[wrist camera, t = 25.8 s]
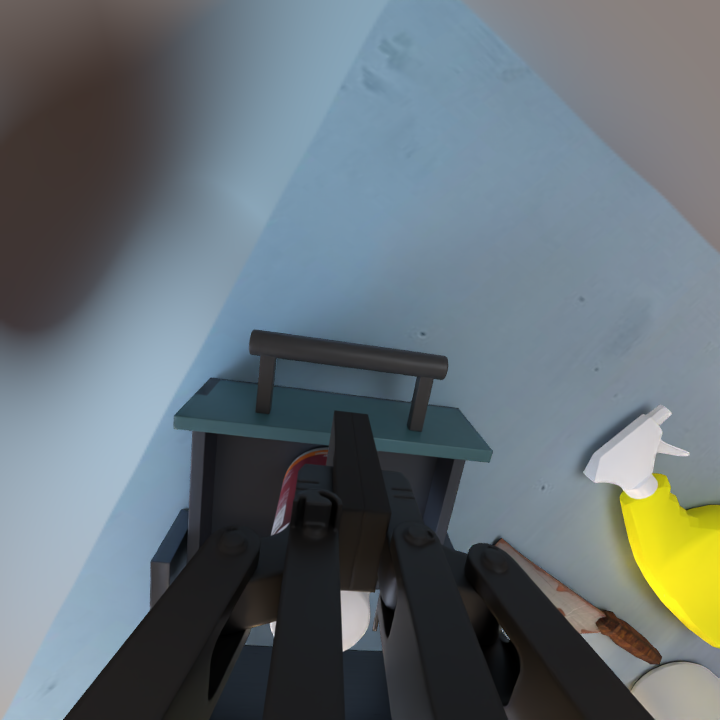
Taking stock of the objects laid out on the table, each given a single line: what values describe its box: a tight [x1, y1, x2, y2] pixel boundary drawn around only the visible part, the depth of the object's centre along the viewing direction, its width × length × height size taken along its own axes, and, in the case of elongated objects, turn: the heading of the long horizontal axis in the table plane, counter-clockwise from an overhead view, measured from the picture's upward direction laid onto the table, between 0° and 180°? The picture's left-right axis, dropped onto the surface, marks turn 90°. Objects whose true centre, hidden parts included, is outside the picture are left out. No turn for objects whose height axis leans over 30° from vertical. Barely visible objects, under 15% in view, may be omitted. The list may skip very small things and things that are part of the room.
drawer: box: [174, 330, 493, 589], centre depth 25 cm, size 18×18×6 cm
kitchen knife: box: [495, 538, 662, 665], centre depth 33 cm, size 21×2×5 cm
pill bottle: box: [270, 447, 370, 651], centre depth 22 cm, size 6×6×11 cm
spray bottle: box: [583, 405, 720, 648], centre depth 31 cm, size 3×11×24 cm
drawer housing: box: [150, 510, 454, 720], centre depth 25 cm, size 14×21×12 cm
